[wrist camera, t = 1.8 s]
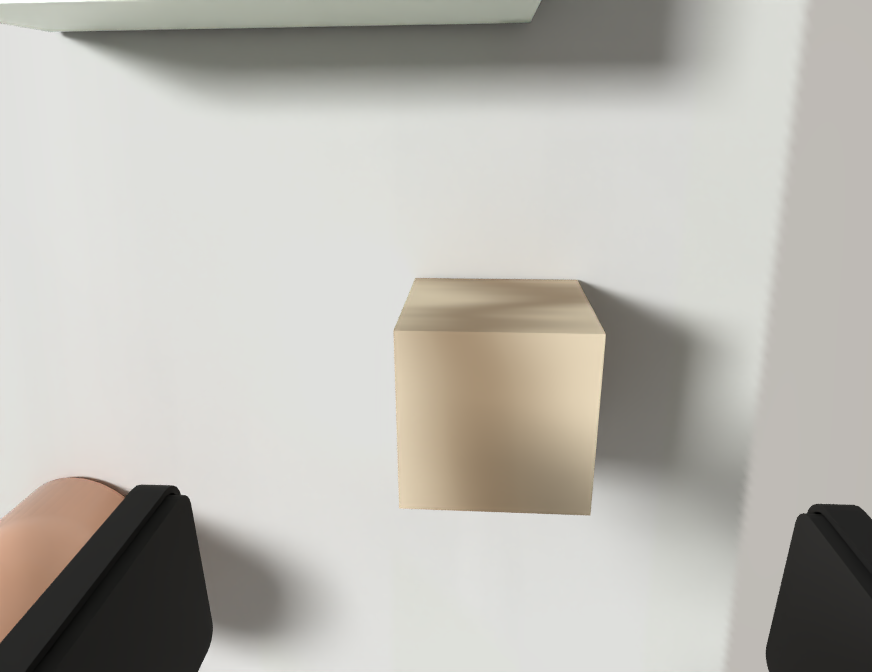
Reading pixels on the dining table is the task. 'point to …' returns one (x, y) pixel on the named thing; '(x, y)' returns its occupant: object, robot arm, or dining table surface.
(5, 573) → the terracotta cylinder
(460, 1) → the tote
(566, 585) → the dining table surface
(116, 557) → the robot arm
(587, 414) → the wooden cube
